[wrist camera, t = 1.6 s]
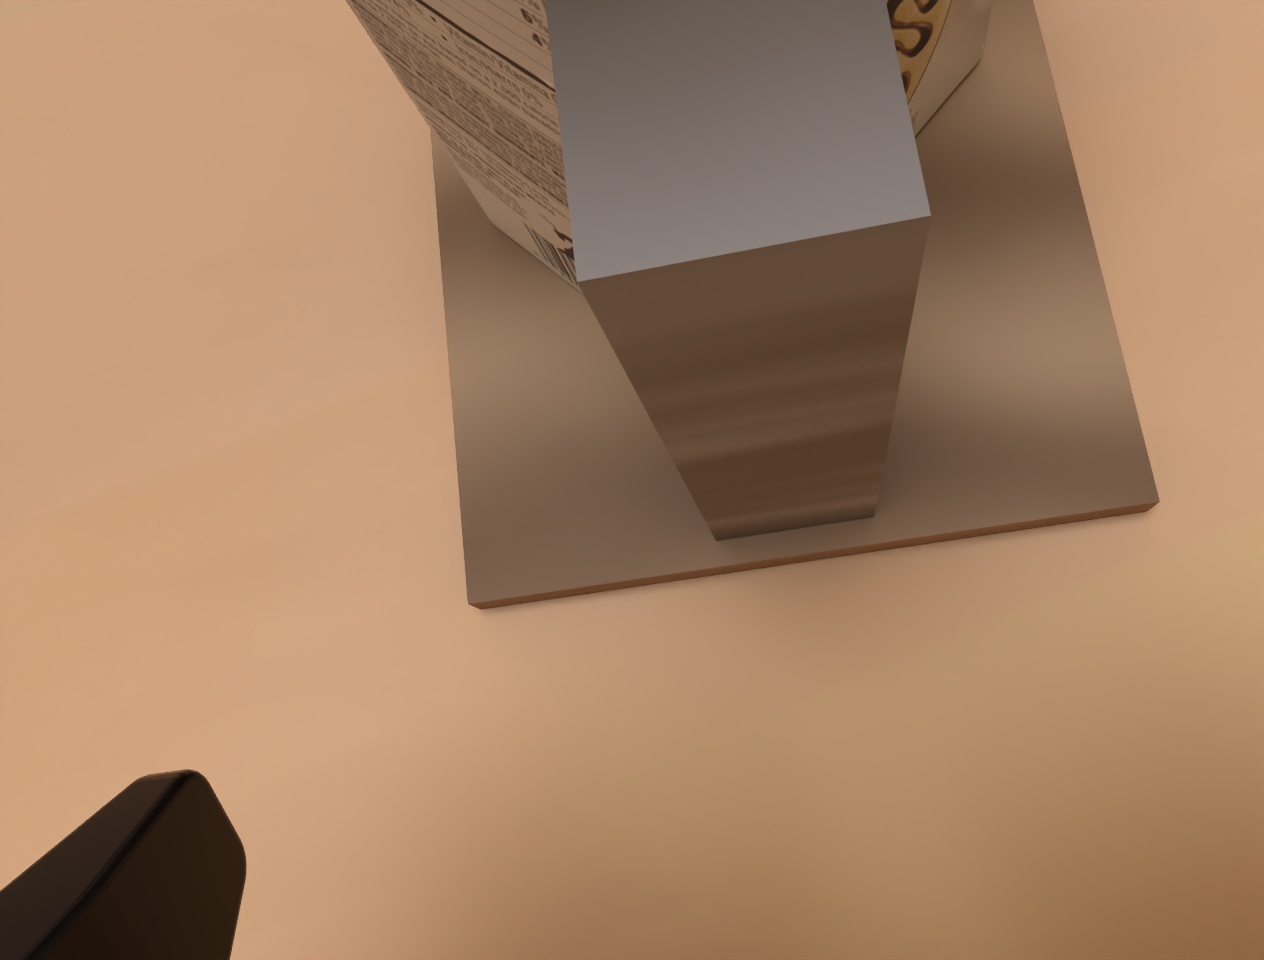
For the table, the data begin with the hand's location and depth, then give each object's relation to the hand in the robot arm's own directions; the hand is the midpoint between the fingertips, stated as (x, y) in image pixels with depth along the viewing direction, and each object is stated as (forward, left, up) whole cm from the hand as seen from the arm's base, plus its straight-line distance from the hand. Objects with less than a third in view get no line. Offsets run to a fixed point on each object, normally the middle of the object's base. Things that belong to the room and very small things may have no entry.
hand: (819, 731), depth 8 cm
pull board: (+11, +2, -13) cm, 17 cm away
